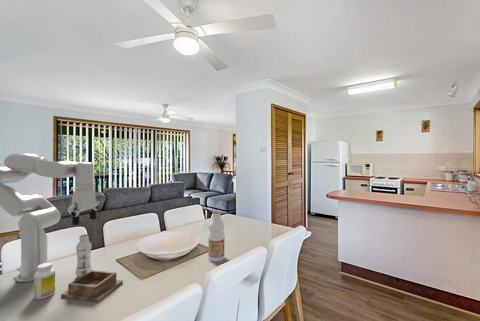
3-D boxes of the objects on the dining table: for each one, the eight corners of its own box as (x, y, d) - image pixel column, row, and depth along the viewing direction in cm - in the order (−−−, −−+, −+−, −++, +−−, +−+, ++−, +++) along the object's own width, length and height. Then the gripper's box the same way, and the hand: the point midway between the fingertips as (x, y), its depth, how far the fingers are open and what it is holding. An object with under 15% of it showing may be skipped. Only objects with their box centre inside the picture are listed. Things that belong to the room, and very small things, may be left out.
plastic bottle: (88, 271, 113) (89, 232, 113) (93, 275, 109) (93, 235, 109) (73, 276, 108) (74, 235, 108) (77, 281, 104) (78, 239, 104)
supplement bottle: (59, 290, 97) (59, 261, 97) (46, 299, 90) (46, 268, 90) (43, 290, 96) (43, 261, 96) (29, 300, 90) (29, 268, 90)
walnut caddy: (60, 297, 92) (61, 284, 92) (89, 279, 106) (89, 268, 106) (98, 302, 89) (98, 289, 89) (122, 283, 103) (122, 272, 103)
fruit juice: (205, 257, 131) (206, 210, 131) (219, 253, 136) (220, 208, 136) (212, 263, 123) (213, 213, 123) (227, 259, 128) (227, 211, 128)
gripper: (92, 185, 118) (92, 217, 118) (61, 189, 101) (61, 226, 101) (104, 185, 116) (104, 217, 116) (75, 189, 99) (75, 227, 99)
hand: (84, 221), depth 109 cm, fingers open, 9 cm apart
